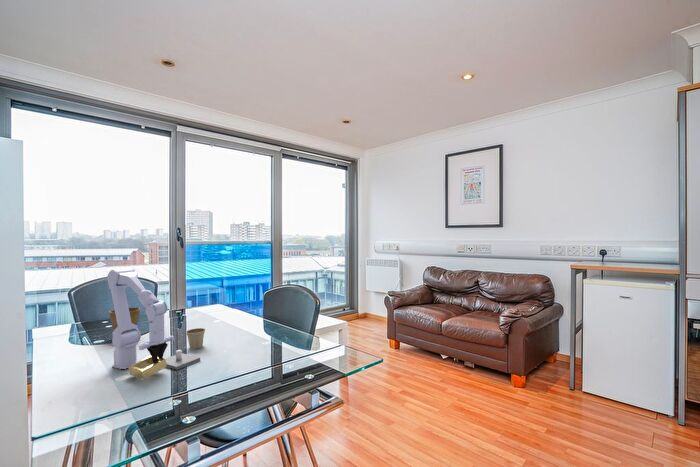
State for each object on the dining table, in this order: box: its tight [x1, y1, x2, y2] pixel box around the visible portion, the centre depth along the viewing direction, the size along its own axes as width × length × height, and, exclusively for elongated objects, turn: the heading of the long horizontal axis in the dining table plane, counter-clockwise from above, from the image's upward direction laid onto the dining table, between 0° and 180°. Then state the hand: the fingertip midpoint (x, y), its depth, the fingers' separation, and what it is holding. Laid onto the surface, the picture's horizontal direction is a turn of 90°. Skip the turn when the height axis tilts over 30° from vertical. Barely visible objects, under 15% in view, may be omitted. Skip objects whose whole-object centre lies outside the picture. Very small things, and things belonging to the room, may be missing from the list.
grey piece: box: [164, 349, 201, 371], centre depth 159 cm, size 14×12×6 cm
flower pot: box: [185, 327, 206, 350], centre depth 180 cm, size 9×9×9 cm
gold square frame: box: [128, 355, 167, 380], centre depth 145 cm, size 10×10×4 cm
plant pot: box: [109, 306, 141, 333], centre depth 200 cm, size 15×15×16 cm
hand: (157, 361), depth 149 cm, fingers closed on gold square frame
